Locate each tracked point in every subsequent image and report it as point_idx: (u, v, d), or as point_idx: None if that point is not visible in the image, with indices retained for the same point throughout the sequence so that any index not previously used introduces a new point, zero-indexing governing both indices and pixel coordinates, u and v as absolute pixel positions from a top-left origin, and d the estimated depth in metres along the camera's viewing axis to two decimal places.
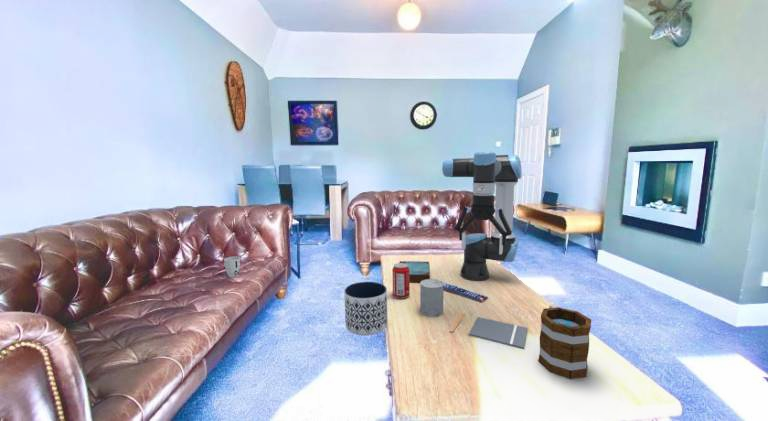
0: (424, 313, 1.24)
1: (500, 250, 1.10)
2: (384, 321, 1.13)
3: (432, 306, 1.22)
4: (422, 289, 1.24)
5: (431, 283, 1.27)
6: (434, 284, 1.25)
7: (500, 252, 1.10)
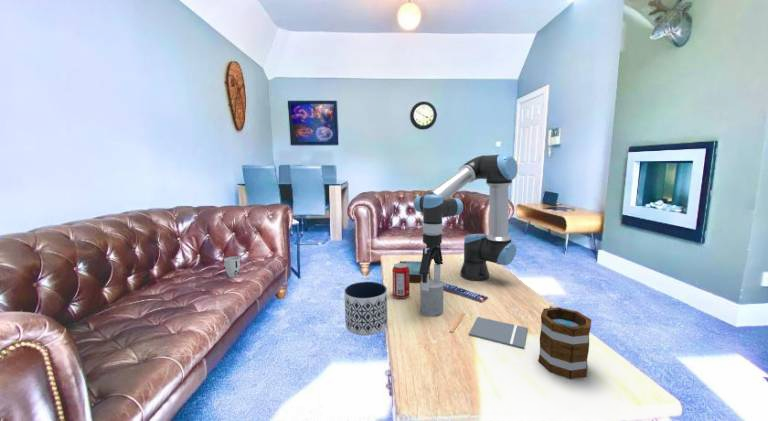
0: (424, 313, 1.24)
1: None
2: (384, 321, 1.13)
3: (432, 306, 1.22)
4: None
5: (431, 283, 1.27)
6: (434, 284, 1.25)
7: (422, 287, 1.20)
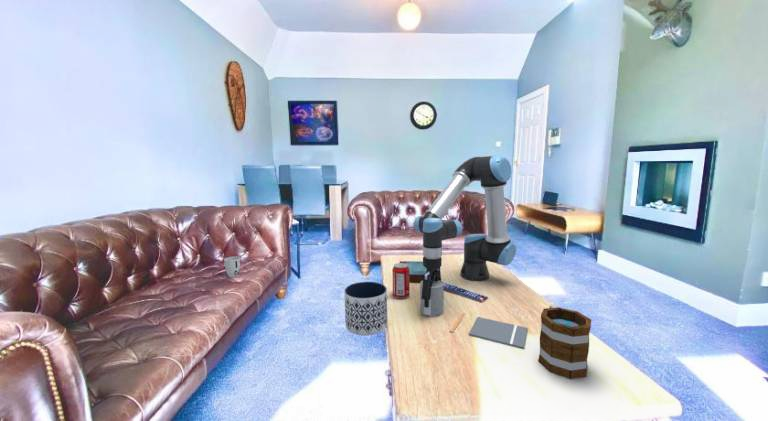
0: None
1: None
2: (384, 321, 1.13)
3: (432, 306, 1.22)
4: None
5: None
6: (434, 284, 1.25)
7: (424, 311, 1.24)
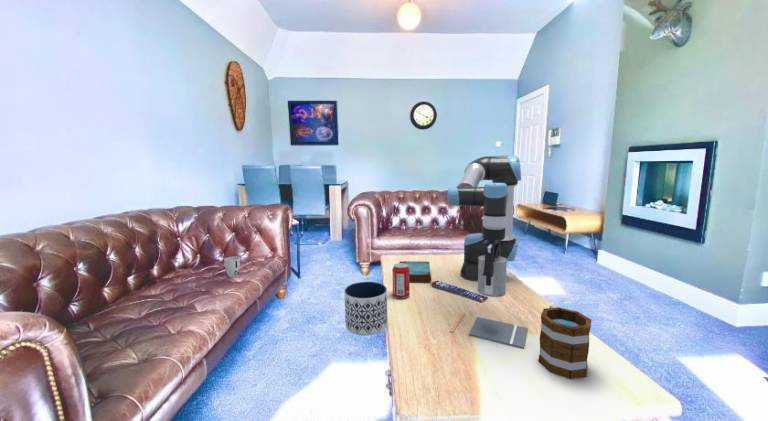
0: (484, 293, 1.07)
1: None
2: (384, 321, 1.13)
3: (495, 284, 1.05)
4: (482, 265, 1.07)
5: None
6: (495, 259, 1.08)
7: None
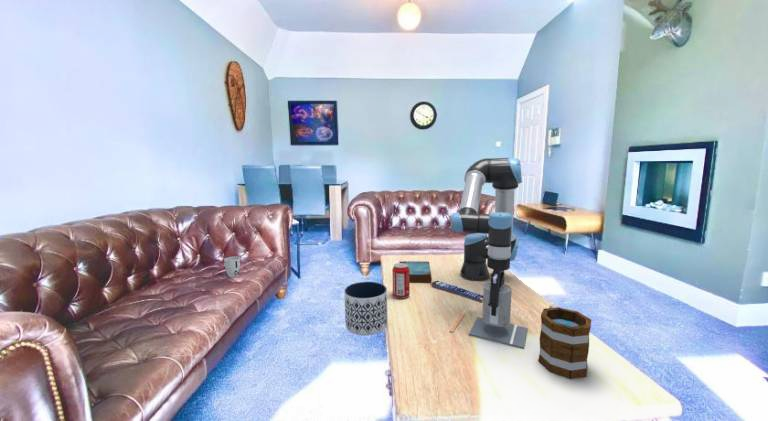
0: None
1: None
2: (384, 321, 1.13)
3: (500, 314, 1.06)
4: (487, 294, 1.07)
5: None
6: (500, 288, 1.08)
7: None
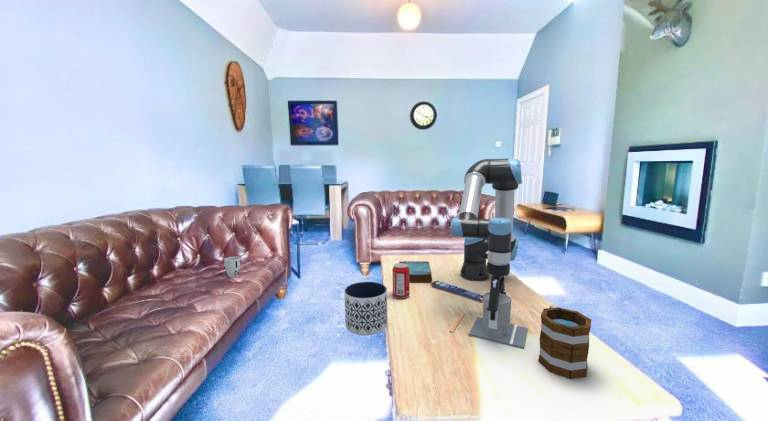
0: (489, 332, 1.08)
1: None
2: (384, 320, 1.13)
3: (500, 324, 1.06)
4: (487, 305, 1.08)
5: None
6: (500, 299, 1.09)
7: None
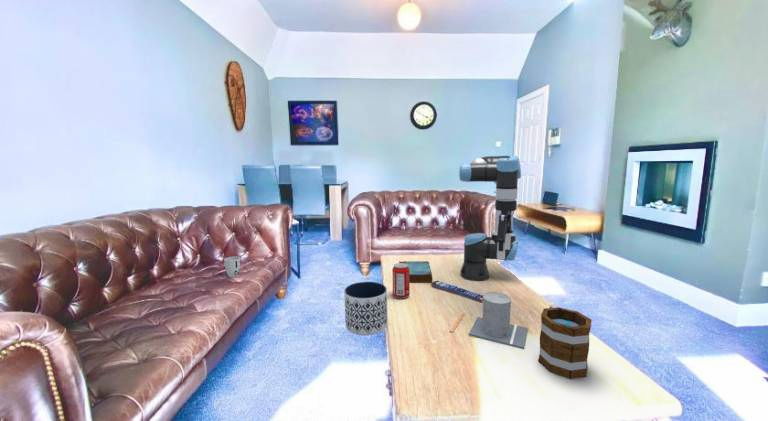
0: (489, 332, 1.08)
1: (497, 254, 1.14)
2: (384, 320, 1.13)
3: (500, 324, 1.06)
4: (487, 305, 1.08)
5: (495, 297, 1.11)
6: (500, 299, 1.09)
7: (497, 256, 1.14)
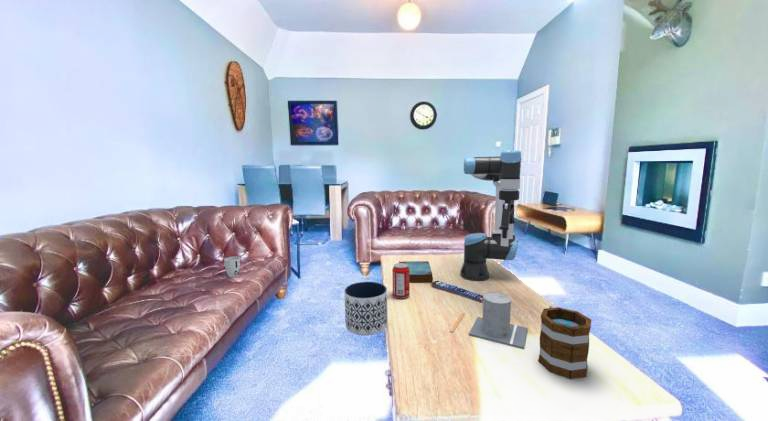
0: (489, 332, 1.08)
1: (500, 242, 1.19)
2: (384, 321, 1.13)
3: (500, 324, 1.06)
4: (487, 305, 1.08)
5: (495, 297, 1.11)
6: (500, 299, 1.09)
7: (500, 243, 1.19)
